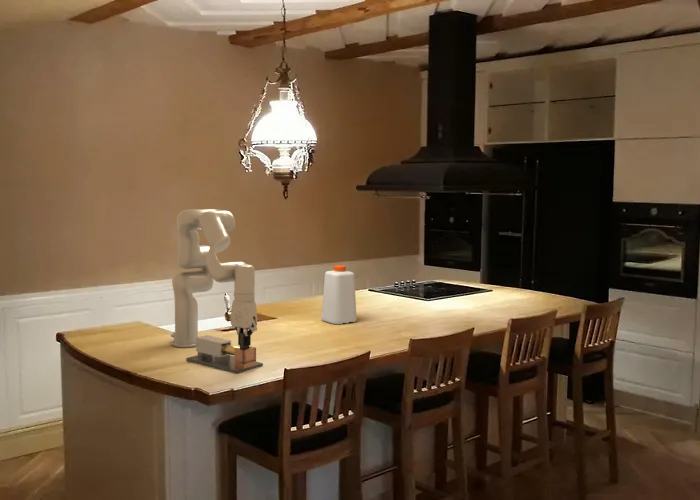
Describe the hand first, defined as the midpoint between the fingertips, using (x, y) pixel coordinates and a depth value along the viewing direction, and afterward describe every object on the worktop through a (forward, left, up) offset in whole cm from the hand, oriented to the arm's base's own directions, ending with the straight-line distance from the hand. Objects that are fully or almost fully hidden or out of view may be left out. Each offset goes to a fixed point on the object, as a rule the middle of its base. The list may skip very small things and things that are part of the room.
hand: (244, 344), depth 278 cm
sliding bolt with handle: (-7, 0, -5) cm, 9 cm away
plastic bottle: (-27, +93, -9) cm, 97 cm away
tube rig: (-11, 0, -9) cm, 14 cm away
